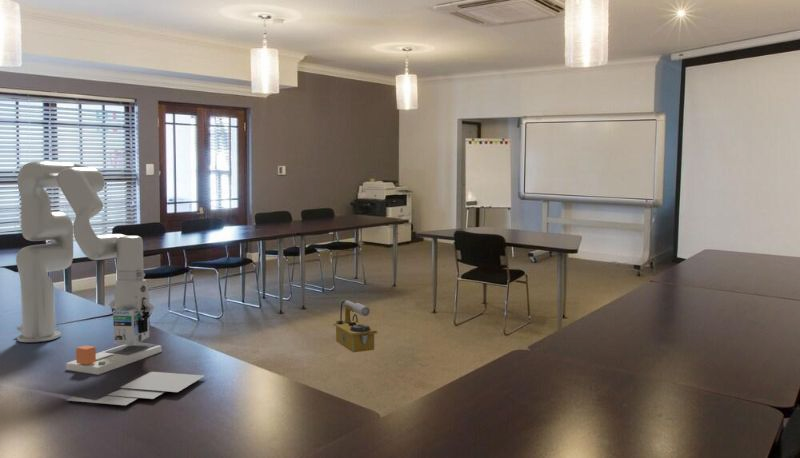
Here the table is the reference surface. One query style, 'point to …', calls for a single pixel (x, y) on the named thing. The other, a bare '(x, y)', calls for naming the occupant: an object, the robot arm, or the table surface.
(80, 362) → the handle
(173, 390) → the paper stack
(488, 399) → the table surface
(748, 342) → the table surface
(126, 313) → the light bulb box
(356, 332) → the geiger counter
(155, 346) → the panel
